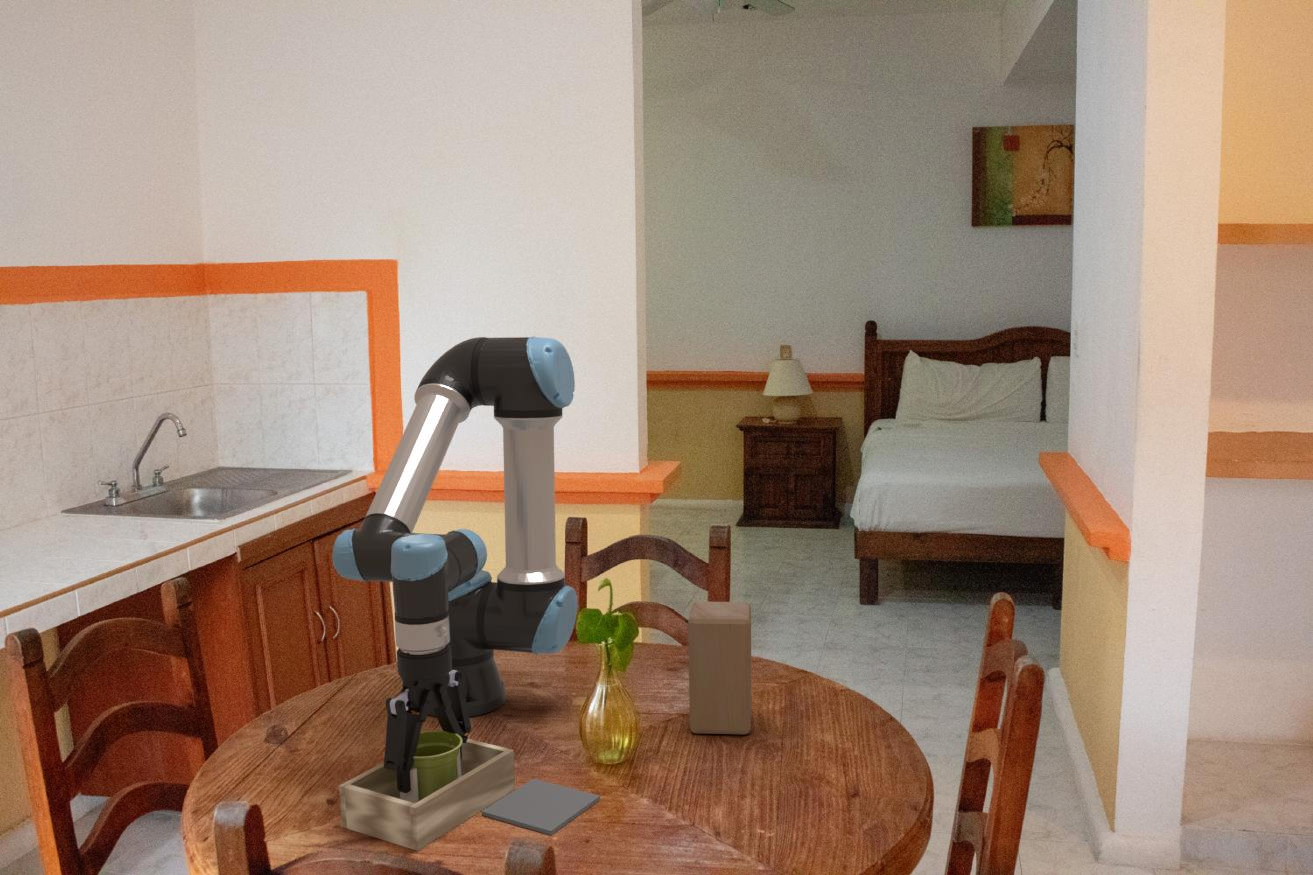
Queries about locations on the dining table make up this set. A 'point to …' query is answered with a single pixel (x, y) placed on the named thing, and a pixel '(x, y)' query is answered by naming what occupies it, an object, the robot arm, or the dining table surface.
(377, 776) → the crate
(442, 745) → the plant pot
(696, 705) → the wooden block
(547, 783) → the pad
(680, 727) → the dining table surface
